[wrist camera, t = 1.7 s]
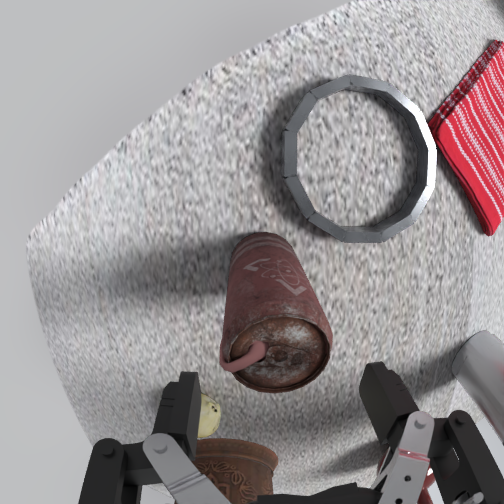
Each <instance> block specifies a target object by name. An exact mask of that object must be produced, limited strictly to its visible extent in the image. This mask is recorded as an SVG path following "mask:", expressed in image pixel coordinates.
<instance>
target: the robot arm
mask: <svg viewBox="0 0 504 504" xmlns="http://www.w3.org/2000/svg"><path fill="white" fill-rule="evenodd" d="M452 373H453V374H454V376H455V377H456V378H457V380H458V381H459V382H460V384H461V385H462V386H463V388H464V389H465V390H466V392H467V393H468V394H469V396H470V397H471V399H472V400H473V401H474V403H475V404H476V405H477V407H478V408H479V410H480V411H481V412H482V414H483V415H484V417H485V418H486V420H487V421H488V423H489V424H490V425H491V427H492V428H493V430H494V431H495V433H496V434H497V436H498V437H499V439H500V440H501V442H502V444H503V445H504V343H503V342H502V341H501V340H500V339H499V338H498V337H496V336H495V335H494V334H493V335H492V334H491V333H490V332H488V331H480V332H478V333H477V334H475V335H474V336H472V337H471V338H470V339H469V340H468V341H467V342H466V343H465V344H464V345H463V346H462V348H461V349H460V350H459V352H458V353H457V355H456V357H455V359H454V361H453V364H452ZM359 393H360V397H361V399H362V401H363V404H364V406H365V408H366V411H367V413H368V415H369V418H370V420H371V423H372V425H373V427H374V430H375V432H376V435H377V437H378V440H379V442H380V445H383V444H386V443H389V445H390V448H389V449H388V452H387V454H386V457H385V459H384V462H383V464H382V466H381V469H380V471H379V473H378V475H377V477H376V479H375V481H374V483H373V484H372V486H371V488H370V489H369V488H363V487H357V483H356V482H354V483H350V484H345V485H340V486H335V487H332V488H329V489H327V490H325V491H322V492H319V493H317V494H314V495H311V496H300V495H289V494H273V495H257V500H256V501H252V502H249V503H246V504H417V501H418V498H419V495H420V493H421V490H422V486H423V483H424V480H425V477H426V474H427V470H428V466H429V464H430V467H431V469H432V472H433V474H434V477H435V480H436V482H437V485H438V488H439V490H440V493H441V496H442V499H443V501H444V504H504V479H503V476H502V474H501V472H500V470H499V468H498V466H497V464H496V462H495V460H494V458H493V456H492V454H491V452H490V450H489V449H488V446H487V445H486V443H485V441H484V439H483V437H482V435H481V434H480V432H479V430H478V428H477V427H476V425H475V423H474V421H473V420H472V418H471V416H470V415H469V414H468V413H467V412H465V411H462V410H456V411H453V412H452V413H451V414H450V415H449V417H448V418H433V417H432V416H431V415H430V414H428V413H427V412H424V411H420V410H419V409H418V407H417V405H416V403H415V402H414V400H413V398H412V396H411V395H410V393H409V391H408V390H407V388H406V386H405V385H404V384H403V381H402V380H401V378H400V376H399V375H398V374H396V373H395V372H394V371H393V370H388V369H387V368H386V366H385V364H384V363H383V362H382V361H380V362H374V363H368V364H367V365H366V367H365V370H364V373H363V376H362V379H361V382H360V386H359ZM201 403H202V397H201V389H200V383H199V377H198V373H197V372H183V371H182V372H181V374H180V378H179V382H169V384H168V385H167V386H166V387H165V388H164V390H163V394H162V399H161V401H160V406H159V409H158V413H157V417H156V421H155V424H154V428H153V432H152V434H151V435H150V436H149V437H147V438H146V439H145V441H143V442H140V443H135V444H125V445H122V444H121V443H120V442H119V441H117V440H115V439H111V438H105V439H102V440H100V441H98V442H97V443H96V444H95V445H94V447H93V450H92V453H91V457H90V460H89V464H88V468H87V471H86V475H85V478H84V482H83V486H82V491H81V495H80V499H79V503H78V504H140V500H141V491H142V485H149V484H157V483H163V484H164V485H165V487H166V488H167V490H168V491H169V492H170V494H171V495H172V496H173V498H174V499H175V500H176V502H177V503H178V504H231V503H230V502H229V501H228V500H227V499H226V497H225V496H224V495H223V494H222V493H221V492H220V491H219V490H218V489H217V488H216V487H215V486H214V484H213V483H212V482H211V481H210V480H209V479H208V478H207V477H206V476H205V475H204V474H202V473H200V472H199V471H198V469H197V468H196V467H195V466H194V465H193V463H192V462H191V461H195V456H196V447H197V438H198V429H199V421H200V412H201ZM453 448H454V449H453ZM454 450H455V451H454ZM455 452H456V453H455ZM456 454H457V456H458V458H459V460H458V458H457V456H456Z"/></svg>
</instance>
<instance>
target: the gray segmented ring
mask: <svg viewBox="0 0 504 504" xmlns="http://www.w3.org/2000/svg"><path fill="white" fill-rule="evenodd" d="M344 89H345V90H351V91H358V92H364V93H369V94H375V95H378V96H379V97H381V98H382V99H383V100H384V101H386V102H387V103H388V104H389V105H391V106H392V107H393V108H394V109H395V110H397V111H398V112H399V113H400V114H401V115H402V116H403V117H404V118H405V120H406V122H407V124H408V127H409V129H410V131H411V133H412V136H413V138H414V141H415V143H416V146H417V148H418V159H417V177H416V184H415V186H414V187H413V189H412V191H411V193H410V194H409V196H408V198H407V200H406V201H405V203H404V205H403V206H402V208H401V210H400V211H399V212H397V213H395V214H393V215H392V216H390V217H388V218H387V219H385V220H383V221H382V222H380V223H378V224H377V225H375V226H373V227H362V226H339V225H338V224H336V223H335V222H333V221H332V220H330V219H328V218H327V217H325V216H324V215H322V214H321V213H319V212H317V211H316V210H315V209H314V207H313V205H312V203H311V201H310V200H309V198H308V196H307V194H306V192H305V190H304V188H303V186H302V184H301V182H300V181H299V179H298V177H297V133H298V131H299V129H300V128H301V126H302V125H303V123H304V121H305V120H306V118H307V116H308V115H309V113H310V112H311V110H312V108H313V107H314V105H315V104H316V102H317V101H319V100H321V99H323V98H326V97H328V96H330V95H332V94H335V93H337V92H339V91H341V90H344ZM419 110H420V109H419V108H418V107H417V106H416V105H415V104H414V103H413V102H412V101H411V100H409V99H408V98H407V97H406V96H405V95H404V94H403V93H401V92H400V91H399V90H398V89H397V88H396V87H394V86H393V85H392V84H391V83H389V84H388V82H386V81H382V80H377V79H372V78H367V77H362V76H356V75H350V74H349V75H345V76H342V77H340V78H338V79H335V80H333V81H330V82H328V83H326V84H323V85H321V86H319V87H316V88H314V89H312V90H310V91H309V92H308V93H307V94H305V95H304V96H303V98H302V100H301V101H300V103H299V104H298V106H297V107H296V109H295V111H294V112H293V114H292V115H291V117H290V119H289V120H288V122H287V123H286V125H285V127H284V128H283V132H282V149H281V175H282V176H283V177H282V179H283V180H284V182H285V184H286V186H287V188H288V189H289V191H290V193H291V195H292V197H293V199H294V200H295V202H296V204H297V206H298V208H299V210H300V212H301V214H302V215H303V216H304V217H305V218H306V219H307V220H308V221H309V222H311V223H313V224H314V225H316V226H318V227H319V228H321V229H322V230H324V231H326V232H327V233H329V234H330V235H332V236H334V237H335V238H337V239H338V240H340V241H342V242H344V243H382V242H385V241H386V240H388V239H389V238H391V237H393V236H394V235H396V234H398V233H399V232H401V231H403V230H404V229H406V228H407V227H409V226H411V225H412V224H414V222H416V220H417V218H418V217H419V215H420V213H421V212H422V210H423V208H424V206H425V205H426V203H427V201H428V199H429V198H430V196H431V194H432V192H433V189H432V188H434V185H435V171H436V149H434V148H436V146H435V143H434V141H433V138H432V135H431V133H430V130H429V128H428V125H427V123H426V121H425V118H424V116H423V114H422V112H421V111H419ZM413 221H414V222H413Z"/></svg>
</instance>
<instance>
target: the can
mask: <svg viewBox="0 0 504 504" xmlns="http://www.w3.org/2000/svg"><path fill="white" fill-rule="evenodd" d="M332 338H333V334H332V331H331V328H330V325H329V322H328V320H327V318H326V316H325V314H324V312H323V309H322V307H321V305H320V303H319V301H318V299H317V297H316V295H315V293H314V291H313V289H312V286H311V284H310V282H309V280H308V278H307V276H306V274H305V272H304V270H303V268H302V266H301V264H300V262H299V260H298V258H297V256H296V254H295V252H294V250H293V248H292V246H291V245H290V244H289V243H288V242H287V241H286V240H285V239H284V238H282V237H280V236H279V235H277V234H273V233H268V232H261V233H254V234H252V235H250V236H247V237H245V238H244V239H243V240H242V241H241V242H239V243H238V244H237V246H236V247H235V249H234V251H233V252H232V256H231V261H230V269H229V278H228V287H227V296H226V306H225V316H224V325H223V336H222V340H221V344H220V361H219V363H220V365H221V366H222V368H223V369H224V370H226V371H229V372H232V374H233V375H234V377H235V378H236V380H238V381H239V382H240V383H242V384H243V385H245V386H246V387H248V388H250V389H253V390H256V391H259V392H265V393H282V392H290V391H293V390H295V389H298V388H301V387H304V386H305V385H307V384H308V383H310V382H312V381H313V380H315V379H316V378H317V377H318V376H319V375H320V374H321V372H322V371H323V370H324V369H325V367H326V365H327V363H328V361H329V359H330V351H331V349H332Z"/></svg>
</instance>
